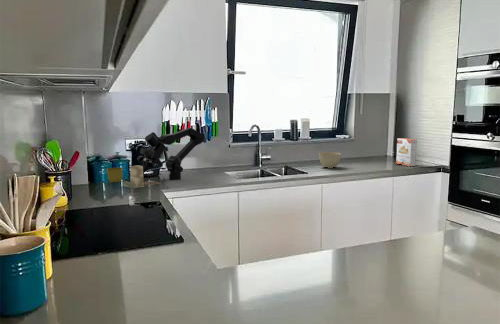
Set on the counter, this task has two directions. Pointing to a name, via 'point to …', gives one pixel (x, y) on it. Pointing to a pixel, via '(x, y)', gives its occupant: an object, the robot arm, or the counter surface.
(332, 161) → the planter bowl
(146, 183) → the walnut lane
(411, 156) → the cracker box
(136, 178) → the beech block
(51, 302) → the counter surface
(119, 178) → the flower pot
